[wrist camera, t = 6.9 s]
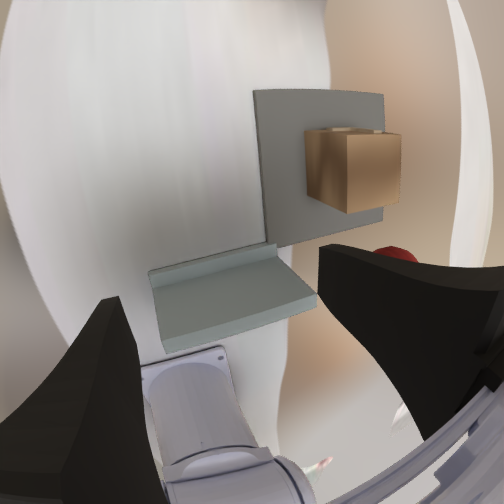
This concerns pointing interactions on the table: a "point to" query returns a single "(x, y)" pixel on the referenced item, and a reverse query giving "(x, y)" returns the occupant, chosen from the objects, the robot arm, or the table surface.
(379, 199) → the taped cardboard box
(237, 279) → the screen
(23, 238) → the table surface
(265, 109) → the grey square plate
